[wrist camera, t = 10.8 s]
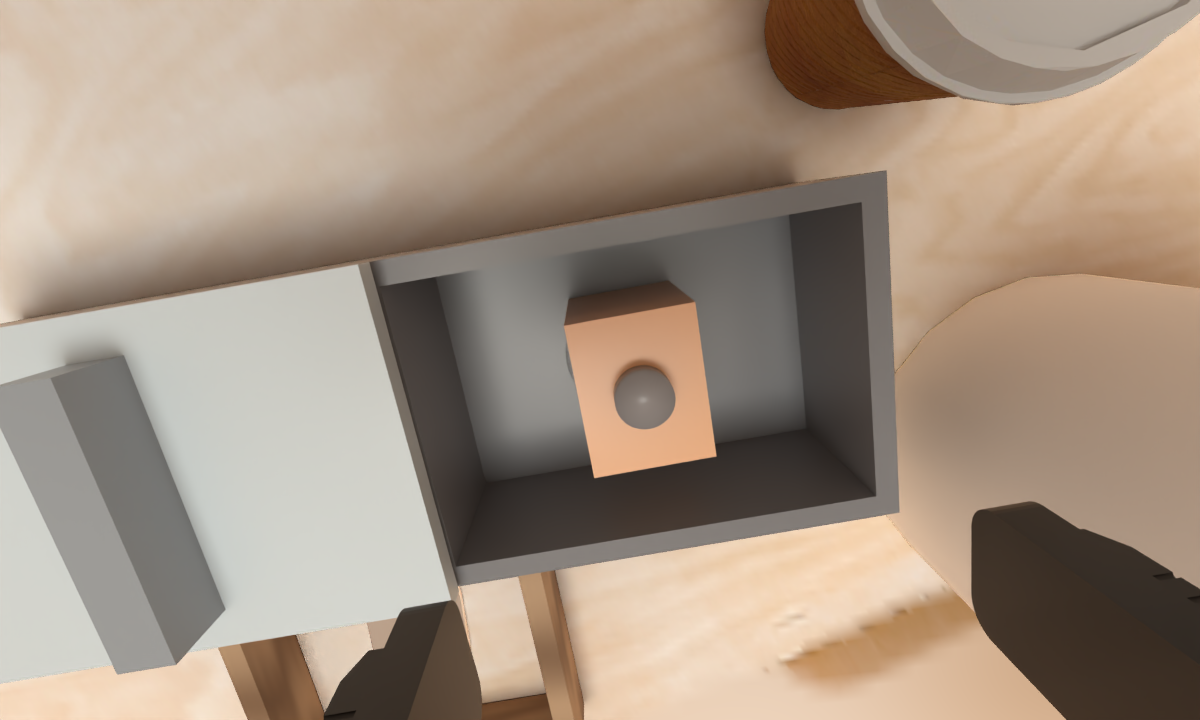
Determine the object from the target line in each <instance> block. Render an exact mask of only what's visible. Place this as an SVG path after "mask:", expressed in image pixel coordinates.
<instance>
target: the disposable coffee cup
mask: <svg viewBox="0 0 1200 720" xmlns="http://www.w3.org/2000/svg"><path fill="white" fill-rule="evenodd" d="M1199 13H1200V0H770V2H769V6H768V9H767V13H766V22H765V38H766V47H767V53H768V56H769V59H770V62H771V65H772V68H773V70H774V72H775V74H776V76H777V77H778V79H779V80H780V81H781V83H782V84H783V85H784V86H785V88H786V89H787V90H788V91H789V92H790V93H792V94H793V95H794V96H795V97H796V98H798V99H800V100H802V101H804V102H806V103H808V104H810V105H812V106H816V107H819V108H823V109H844V108H850V107H861V106H871V105H881V104H890V103H899V102H910V101H920V100H929V99H937V98H946V97H957V96H958V97H960V98H963V99H970V100H977V101H984V102H991V103H998V104H1006V105H1020V104H1030V103H1038V102H1043V101H1047V100H1052V99H1056V98H1061V97H1066V96H1070V95H1073V94H1075V93H1078V92H1080V91H1083V90H1085V89H1088V88H1090V87H1093V86H1096V85H1098V84H1101V83H1102V82H1104V81H1106V80H1107V79H1109V78H1111V77H1113V76H1114V75H1116V74H1118V73H1119V72H1121V71H1123V70H1124V69H1126V68H1128V67H1130V66H1131V65H1133V64H1134V63H1136V62H1137V61H1138V60H1140V59H1141V58H1142V57H1144V56H1145V55H1146V54H1148V53H1149V52H1150V51H1151V50H1153V49H1154V48H1155V47H1157V46H1158V45H1159V44H1160V43H1161V42H1162V41H1163V40H1164V39H1165V38H1166V37H1167V36H1169V35H1171V34H1173V33H1175V32H1176V31H1177V30H1179V29H1180V28H1181V27H1183V26H1184V25H1185V24H1186V23H1188V22H1189V21H1190V20H1192V19H1193V18H1194V17H1195V16H1197V15H1198V14H1199Z"/></svg>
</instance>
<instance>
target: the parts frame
mask: <svg viewBox="0 0 1200 720" xmlns="http://www.w3.org/2000/svg"><path fill="white" fill-rule="evenodd" d="M518 577H519V581H520V585H521V590H522V594H523V598H524V602H525V606H526V610H527V615H528V619H529V623H530V627H531V631H532V635H533V640H534V644H535V648H536V652H537V656H538V660H539V665H540V669H541V673H542V677H543V681H544V685H545V690H546V694H542V695H536V696H530V697H524V698H518V699H512V700H506V701H500V702H493V703H487V704H482V718H481V720H584V702H583V697H582V692H581V688H580V683H579V679H578V674H577V670H576V665H575V661H574V656H573V652H572V647H571V642H570V638H569V633H568V629H567V624H566V620H565V615H564V611H563V606H562V602H561V597H560V592H559V588H558V583H557V579H556V574H555V570H553V571H547V572H541V573H535V574H529V575H523V576H518ZM218 648H219V651H220V653H221V656H222V658H223V661H224V663H225V665H226V668H227V670H228V673H229V675H230V678H231V680H232V682H233V685H234V687H235V690H236V692H237V695H238V697H239V699H240V702H241V704H242V707H243V709H244V711H245V714H246V716H247V719H248V720H324V717H323V716H324V712H323V709H322V706H321V703H320V701H319V698H318V695H317V693H316V690H315V687H314V684H313V682H312V679H311V676H310V674H309V671H308V668H307V665H306V663H305V660H304V657H303V655H302V652H301V649H300V646H299V644H298V641H297V638H296V635H290V636H284V637H278V638H272V639H266V640H260V641H254V642H248V643H242V644H236V645H230V646H224V647H218Z"/></svg>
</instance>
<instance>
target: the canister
mask: <svg viewBox="0 0 1200 720" xmlns="http://www.w3.org/2000/svg"><path fill="white" fill-rule="evenodd" d="M894 378H895V404H896V430H897V456H898V482H899V508H900V513H894V514H888V515H886V516H887V517H888V518H889V520H890V521H891V522H892V523H893V525H894V526H895V527H896V529H897V530H898V531H899V532H900V534H901V535H902V536H903V538H904V539H905V540H906V541H907V543H908V544H909V545H910V546H911V547H912V548H913V549H914V550H915V551H916V552H917V553H918V555H919V556H920V557H921V558H922V559H923V560H924V561H925V562H926V563H927V564H928V565H929V566H930V567H931V568H932V569H933V570H934V571H935V572H936V573H937V574H938V575H939V576H940V577H941V578H942V579H943V580H944V581H945V582H946V583H947V584H948V585H949V586H950V587H951V588H952V589H953V590H954V591H955V592H956V593H957V594H958V595H959V596H960V597H961V598H962V599H963V600H964V602H965V603H966V604H967V605H968V606H969V607H970V608H971V609H972V610H973V611H974V612H975V610H974V607H973V603H972V597H971V524H972V518H973V516H974V514H975V513H976V511H978V510H981V509H987V508H993V507H998V506H1004V505H1010V504H1016V503H1021V502H1027V501H1033V502H1036V503H1039V504H1041V505H1043V506H1044V507H1046V508H1048V509H1049V510H1051V511H1052V512H1054V513H1055V514H1057V515H1058V516H1060V517H1062V518H1063V519H1065V520H1066V521H1068V522H1069V523H1071V524H1072V525H1074V526H1076V527H1077V528H1079V529H1086V530H1089V531H1091V532H1094V533H1097V534H1099V535H1102V536H1104V537H1107V538H1110V539H1112V540H1115V541H1118V542H1120V543H1123V544H1125V545H1128V546H1131V547H1133V548H1134V549H1136V550H1138V551H1139V552H1141V553H1142V554H1144V555H1146V556H1147V557H1149V558H1151V559H1152V560H1154V561H1155V562H1157V563H1159V564H1160V565H1162V566H1164V567H1165V568H1167V569H1169V570H1170V571H1172V572H1173V575H1174V576H1175V577H1176V578H1180V577H1182V578H1183V579H1185V580H1186V581H1188V582H1190V583H1191V584H1193V585H1195V586H1196V587H1198V588H1199V589H1200V288H1195V287H1187V286H1179V285H1171V284H1163V283H1154V282H1146V281H1138V280H1130V279H1122V278H1114V277H1106V276H1098V275H1090V274H1067V275H1052V276H1038V277H1027V278H1024V279H1021V280H1019V281H1016V282H1013V283H1011V284H1008V285H1006V286H1003V287H1000V288H998V289H995V290H993V291H990V292H987V293H985V294H982V295H979V296H977V297H974V298H973V299H971V300H970V301H969V302H967V303H966V304H965V305H963V306H962V307H961V308H959V309H958V310H957V311H955V312H954V313H953V314H951V315H950V316H948V317H947V318H946V319H944V320H943V321H942V322H940V323H939V324H938V325H936V326H935V327H934V328H932V329H931V330H930V331H928V332H927V333H926V335H925V336H924V337H923V339H922V340H921V341H920V342H919V344H918V345H917V346H916V348H915V349H914V350H913V351H912V353H911V354H910V355H909V357H908V358H907V359H906V360H905V362H904V363H903V364H902V366H901V367H900V368H899V369H898V371H897V372H896V373H895V374H894Z"/></svg>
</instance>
